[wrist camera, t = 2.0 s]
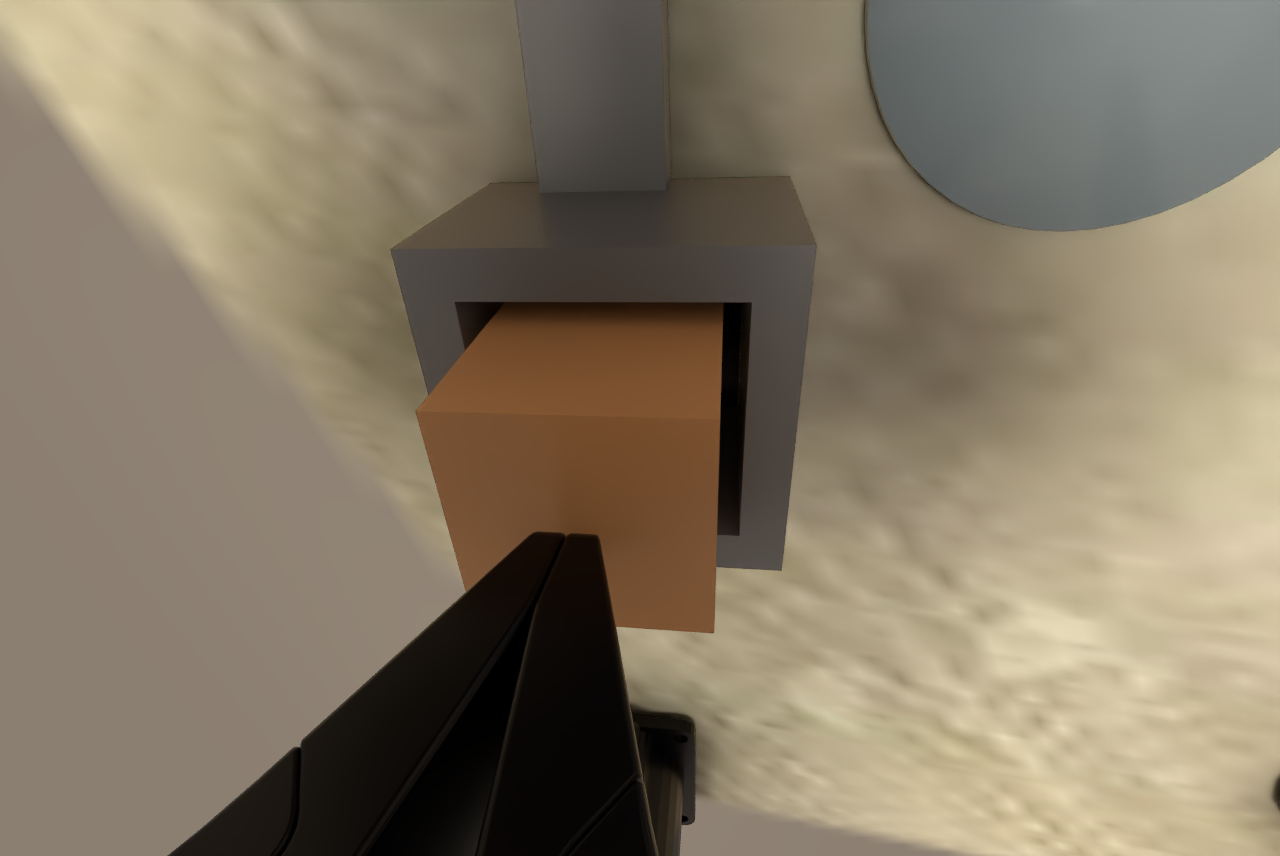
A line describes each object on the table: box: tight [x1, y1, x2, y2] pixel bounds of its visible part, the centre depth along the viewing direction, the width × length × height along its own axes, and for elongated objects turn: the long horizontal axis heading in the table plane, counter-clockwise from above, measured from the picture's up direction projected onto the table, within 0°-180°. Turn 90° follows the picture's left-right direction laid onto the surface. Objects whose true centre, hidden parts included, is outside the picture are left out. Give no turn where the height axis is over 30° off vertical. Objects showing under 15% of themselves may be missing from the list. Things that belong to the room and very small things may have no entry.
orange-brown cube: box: [416, 302, 723, 633], centre depth 10 cm, size 4×4×4 cm
